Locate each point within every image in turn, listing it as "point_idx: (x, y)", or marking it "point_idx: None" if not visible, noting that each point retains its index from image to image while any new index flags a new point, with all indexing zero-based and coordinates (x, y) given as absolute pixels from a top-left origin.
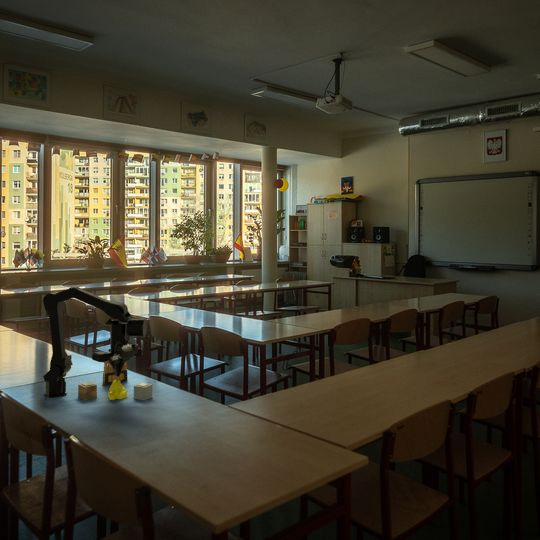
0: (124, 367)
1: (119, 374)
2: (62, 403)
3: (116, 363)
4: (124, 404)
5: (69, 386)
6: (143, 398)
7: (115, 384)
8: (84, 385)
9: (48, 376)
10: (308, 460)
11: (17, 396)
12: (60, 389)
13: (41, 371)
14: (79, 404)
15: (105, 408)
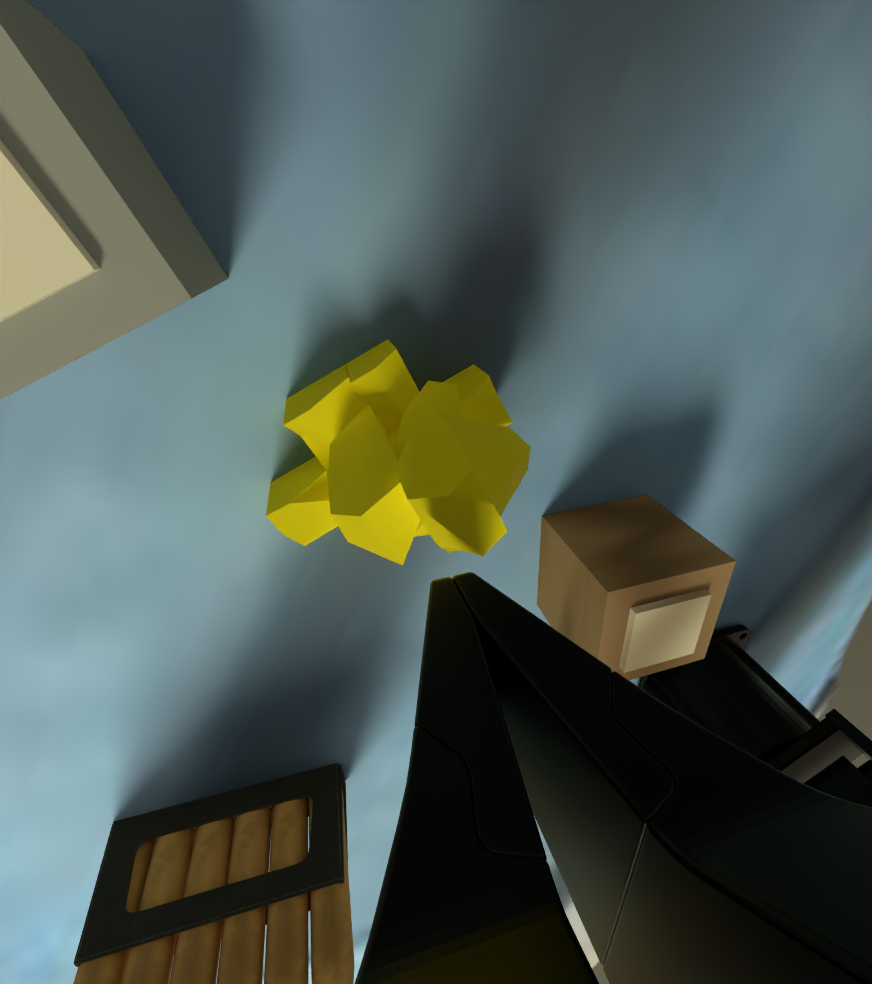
0: None
1: (440, 598)
2: (783, 492)
3: (816, 827)
4: (452, 71)
5: None
6: (87, 65)
7: (488, 460)
8: (700, 612)
9: None
10: None
11: (799, 698)
12: (715, 679)
13: None
14: (742, 404)
15: (702, 85)
